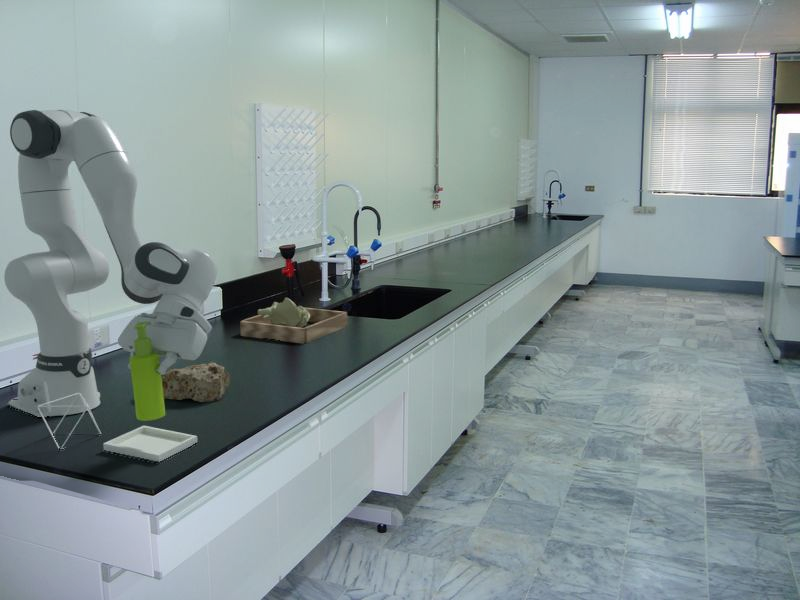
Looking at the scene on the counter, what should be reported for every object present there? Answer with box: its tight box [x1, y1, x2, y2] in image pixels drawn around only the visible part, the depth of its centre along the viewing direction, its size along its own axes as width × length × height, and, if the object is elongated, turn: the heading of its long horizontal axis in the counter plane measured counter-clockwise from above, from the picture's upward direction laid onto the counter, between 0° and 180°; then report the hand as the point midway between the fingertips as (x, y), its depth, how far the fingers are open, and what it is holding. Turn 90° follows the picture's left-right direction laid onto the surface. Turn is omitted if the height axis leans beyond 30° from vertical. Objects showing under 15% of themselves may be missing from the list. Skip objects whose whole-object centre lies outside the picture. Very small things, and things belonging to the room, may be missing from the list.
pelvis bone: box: [257, 297, 310, 328], centre depth 273 cm, size 20×14×15 cm
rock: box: [161, 361, 231, 403], centre depth 200 cm, size 21×14×10 cm
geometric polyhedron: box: [37, 393, 102, 450], centre depth 168 cm, size 12×11×9 cm
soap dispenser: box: [129, 322, 166, 422], centre depth 161 cm, size 6×7×20 cm
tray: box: [103, 425, 198, 462], centre depth 164 cm, size 15×12×2 cm
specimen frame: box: [240, 306, 348, 345], centre depth 272 cm, size 26×30×5 cm
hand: (145, 371), depth 160 cm, fingers closed on soap dispenser, 6 cm apart
